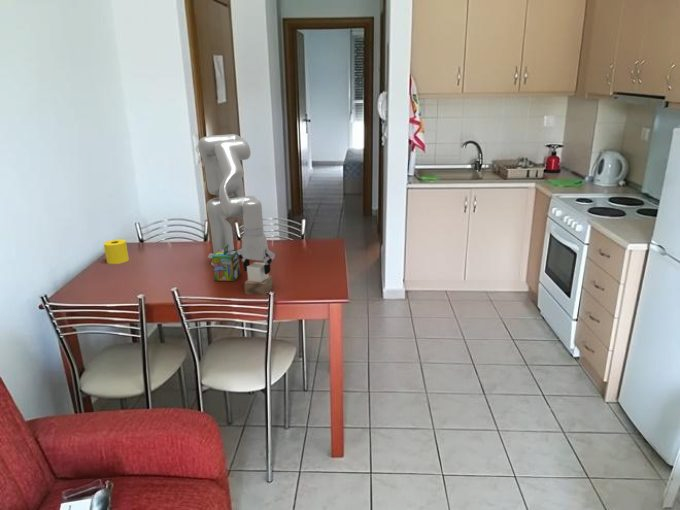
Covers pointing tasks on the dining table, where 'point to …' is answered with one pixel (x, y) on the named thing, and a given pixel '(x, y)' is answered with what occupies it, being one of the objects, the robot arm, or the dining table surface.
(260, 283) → the walnut block
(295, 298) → the dining table surface
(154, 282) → the dining table surface
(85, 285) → the dining table surface
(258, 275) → the cream cube
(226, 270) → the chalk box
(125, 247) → the tape roll
